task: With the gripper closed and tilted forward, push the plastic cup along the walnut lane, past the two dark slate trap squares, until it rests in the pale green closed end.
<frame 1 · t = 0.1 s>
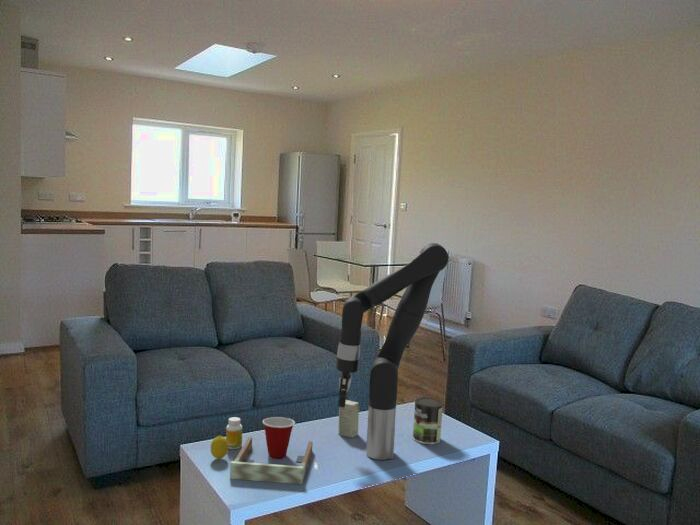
hand: (342, 402, 205), 17 cm above the table, tool pointing down, fingers open, 8 cm apart
coffee can: (426, 439, 222), on the table
plastic cup: (277, 455, 201), on the table
lemon: (219, 460, 196), on the table
lane: (273, 463, 195), on the table
skincare box: (347, 434, 222), on the table
supplement bottle: (233, 447, 207), on the table
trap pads: (273, 463, 195), on the table
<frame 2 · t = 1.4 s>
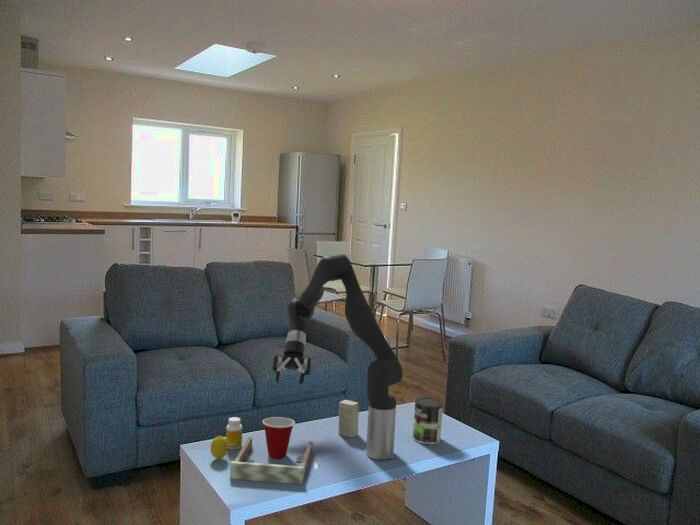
hand: (289, 383, 221), 18 cm above the table, tool tilted 45°, fingers open, 8 cm apart
nothing on the table moved.
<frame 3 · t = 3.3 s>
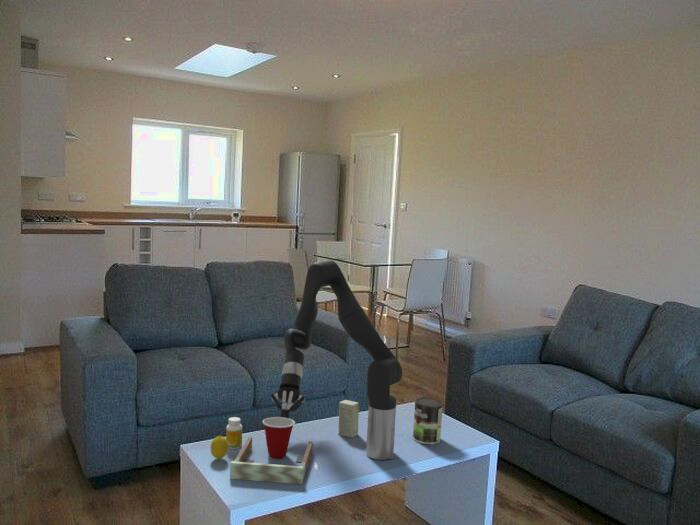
hand: (284, 421, 212), 8 cm above the table, tool tilted 45°, fingers closed
nothing on the table moved.
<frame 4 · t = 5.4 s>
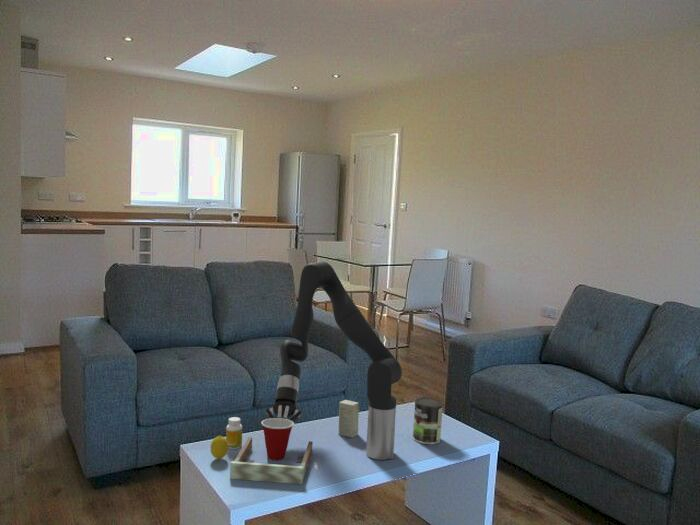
hand: (279, 437, 204), 5 cm above the table, tool tilted 45°, fingers closed
plastic cup: (276, 457, 200), on the table, touching gripper
everything else where it was.
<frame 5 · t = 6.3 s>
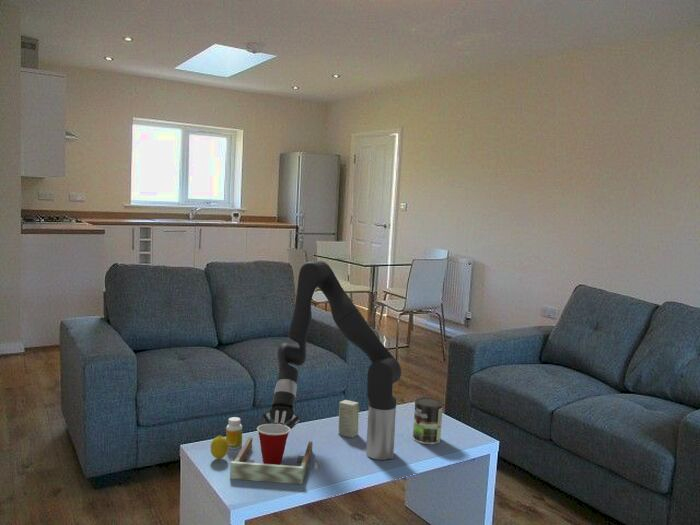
hand: (276, 443, 199), 5 cm above the table, tool tilted 45°, fingers closed
plastic cup: (272, 463, 195), on the table, touching gripper
everything else where it was.
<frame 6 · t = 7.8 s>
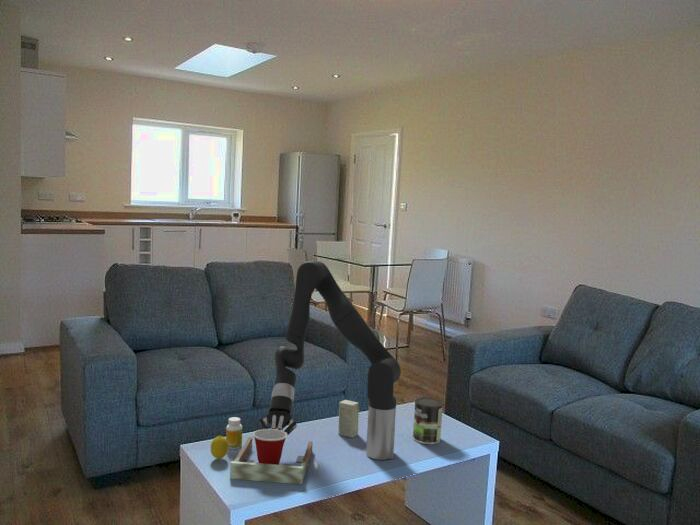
hand: (273, 448, 195), 5 cm above the table, tool tilted 45°, fingers closed
plastic cup: (269, 470, 190), on the table, touching gripper
everything else where it was.
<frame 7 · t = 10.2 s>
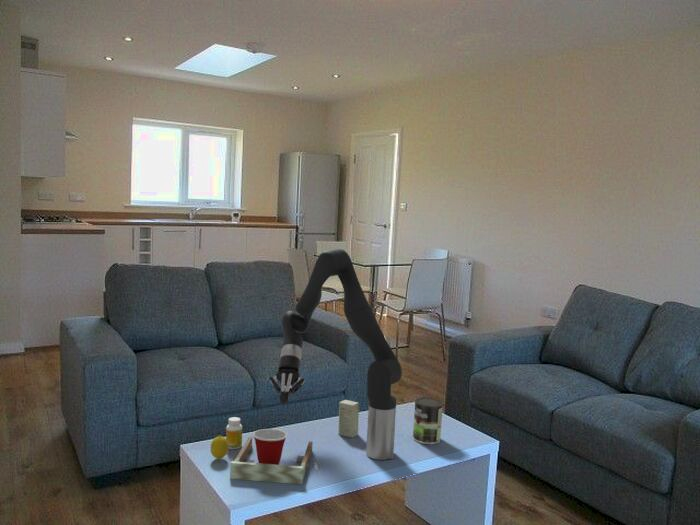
hand: (283, 403, 208), 15 cm above the table, tool tilted 45°, fingers closed
plastic cup: (269, 470, 190), on the table
everything else where it was.
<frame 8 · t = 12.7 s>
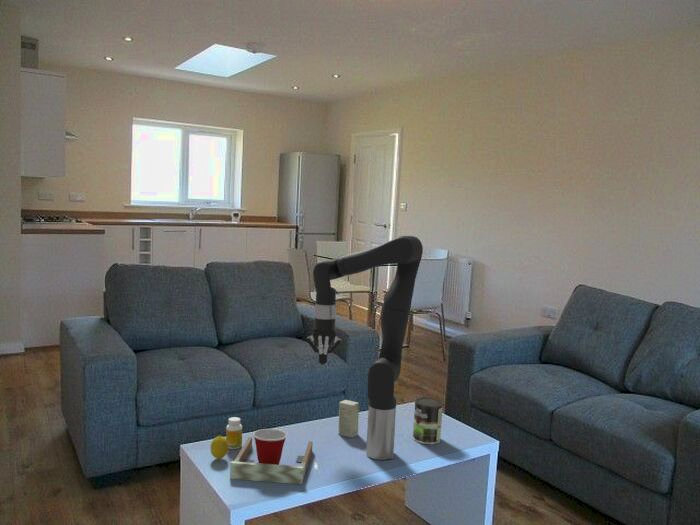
hand: (322, 363, 216), 27 cm above the table, tool pointing down, fingers closed
nothing on the table moved.
at the end: plastic cup inside the target area (0.9 cm from its centre), on the table; plastic cup tilted 0°; plastic cup moved 11.1 cm from its start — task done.
